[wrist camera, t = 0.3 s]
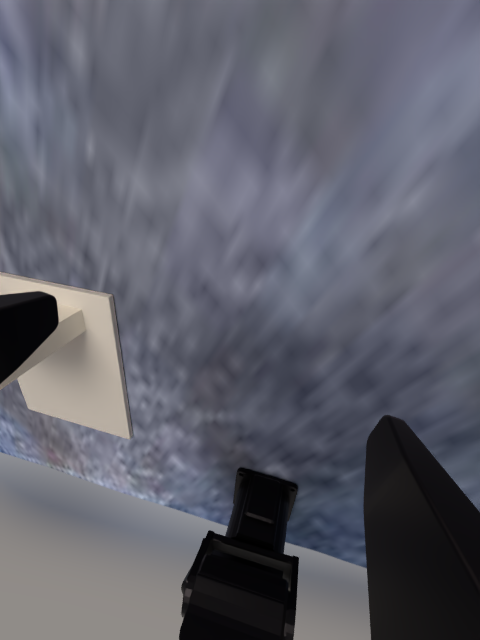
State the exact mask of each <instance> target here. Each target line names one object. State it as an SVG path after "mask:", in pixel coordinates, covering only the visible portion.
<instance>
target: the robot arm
mask: <svg viewBox="0 0 480 640" xmlns="http://www.w3.org/2000/svg"><path fill="white" fill-rule="evenodd" d="M58 324H59V316H58V307H57V300H56V298H55V297H54V296H53V295H51V294H48V293H45V292H42V291H33V292H23V293H14V294H5V295H0V384H1V383H2V382H3V381H4V380H6V379H7V378H8V377H9V376H10V375H11V374H12V373H14V372H15V371H16V370H17V369H18V368H19V367H20V366H21V365H22V364H23V363H24V362H25V361H26V360H27V359H28V358H29V357H30V356H31V355H32V354H33V353H34V351H35V350H36V349H37V348H38V347H39V346H40V345H41V344H42V343H43V342H44V341H45V340H46V339H47V338H48V337H49V336H50V335H51V334H52V333H53V332H54V331H55V330H56V328H57V326H58ZM297 491H298V486H297V485H296V484H293V483H290V482H287V481H283V480H280V479H277V478H273V477H270V476H267V475H263V474H260V473H256V472H253V471H250V470H246V469H243V468H239V469H238V471H237V475H236V483H235V492H234V500H233V503H234V507H233V510H232V514H231V518H230V521H229V525H228V528H227V532H226V536H223V535H219V534H216V533H214V532H213V531H208V533H207V536H206V538H203V541H202V544H201V547H200V549H199V551H198V554H197V556H196V558H195V561H194V563H193V565H192V567H191V569H190V570H189V572H188V574H187V576H186V577H185V579H184V581H183V583H182V587H181V590H182V593H183V604H182V617H184V619H183V623H182V626H181V629H180V634H179V640H293V636H294V626H295V615H296V600H297V599H296V598H297V582H298V564H299V558H298V557H296V556H293V557H292V556H289V555H285V554H284V545H285V537H286V528H287V521H289V518H290V515H291V511H292V508H293V505H294V501H295V498H296V495H297ZM364 527H365V543H366V560H367V575H368V592H369V609H370V627H371V640H480V512H479V511H478V510H477V508H476V507H475V506H474V505H473V503H472V502H471V501H470V500H469V499H468V497H467V496H466V495H465V494H464V493H463V491H462V490H461V489H460V488H459V487H458V485H457V484H456V483H455V482H454V481H453V479H452V478H451V477H450V476H449V474H448V473H447V472H446V471H445V470H444V468H443V467H442V466H441V465H440V464H439V462H438V461H437V460H436V459H435V458H434V456H433V455H432V454H431V453H430V451H429V450H428V449H427V448H426V447H425V445H424V444H423V443H422V442H421V441H420V439H419V438H418V437H417V436H416V435H415V433H414V432H413V431H412V430H411V429H410V427H409V426H408V425H407V424H406V423H405V421H403V420H401V419H399V418H396V417H393V416H390V415H384V416H383V417H382V418H381V419H380V421H379V422H378V424H377V425H376V427H375V428H374V430H373V431H372V432H371V434H370V435H369V437H368V440H367V446H366V466H365V485H364Z"/></svg>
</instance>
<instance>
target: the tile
mask: <svg viewBox="0 0 480 640" xmlns="http://www.w3.org/2000/svg"><path fill="white" fill-rule="evenodd" d="M8 294H10V293H8ZM57 307H58V316H59V324H58V326H57V328H56V330H55V331H54V332H53V333H52V334H51V335H50V336H49V337H48V338H47V339H46V340H45V341H44V342H43V343H42V344H41V345H40V346H39V347H38V348H37V349H36V350H35V351H34V353H33V354H32V355H31V356H30V357H29V358H28V359H27V360H26V361H25V362H24V363H23V364H22V365H21V366H20V367H19V368H18V369H17V370H16V371H15V372H14V373H12V374H11V375H10V376H9V377H8V378H7V379H6V380H4V381H3V382H2V383H1V384H0V390H1V389H2V388H4V387H5V386H7V385H8V384H10V383H11V382H12V381H14V380H15V379H17V378H18V377H20V376H21V375H22V374H24V373H25V372H27V371H28V370H30V369H31V368H32V367H34V366H35V365H37V364H38V363H40V362H41V361H42V360H44V359H45V358H47V357H48V356H50V355H51V354H52V353H54V352H55V351H57V350H58V349H60V348H61V347H62V346H64V345H65V344H67V343H68V342H70V341H71V340H72V339H74V338H75V337H77V336H78V335H80V334H81V333H82V332H84V331H85V330H86V328H85V323H84V318H83V313H82V309H79V308H74V307H69V306H65V305H60V304H57Z"/></svg>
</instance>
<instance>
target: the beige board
mask: <svg viewBox="0 0 480 640" xmlns="http://www.w3.org/2000/svg"><path fill="white" fill-rule="evenodd" d="M33 291H42V292H45V293H48V294H51V295H53V296H54V297H55V298H56V300H57V304H60V305H65V306H69V307H74V308H79V309H82V313H83V318H84V323H85V328H86V330H85V331H84V332H82V333H81V334H80V335H78V336H77V337H75V338H74V339H72V340H71V341H70V342H68V343H67V344H65V345H64V346H62V347H61V348H60V349H58V350H57V351H55V352H54V353H52V354H51V355H50V356H48V357H47V358H45V359H44V360H42V361H41V362H40V363H38V364H37V365H35V366H34V367H32V368H31V369H30V370H28V371H27V372H25V373H24V374H22V375H21V376H20V377H18V378H17V379H18V382H19V385H20V387H21V390H22V393H23V395H24V398H25V401H26V403H27V406H28V409H30V410H34V411H37V412H40V413H44V414H47V415H50V416H54V417H57V418H60V419H63V420H67V421H70V422H73V423H77V424H80V425H83V426H87V427H90V428H93V429H97V430H100V431H103V432H107V433H110V434H113V435H117V436H120V437H123V438H127V439H131V437H132V436H133V432H132V425H131V418H130V411H129V404H128V397H127V390H126V383H125V376H124V369H123V362H122V355H121V348H120V341H119V334H118V327H117V320H116V313H115V306H114V299H113V295H111V294H106V293H101V292H96V291H91V290H86V289H82V288H77V287H72V286H67V285H62V284H57V283H52V282H47V281H42V280H37V279H32V278H27V277H22V276H17V275H12V274H7V273H3V272H0V295H5V294H8V293H10V294H14V293H23V292H33Z"/></svg>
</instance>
